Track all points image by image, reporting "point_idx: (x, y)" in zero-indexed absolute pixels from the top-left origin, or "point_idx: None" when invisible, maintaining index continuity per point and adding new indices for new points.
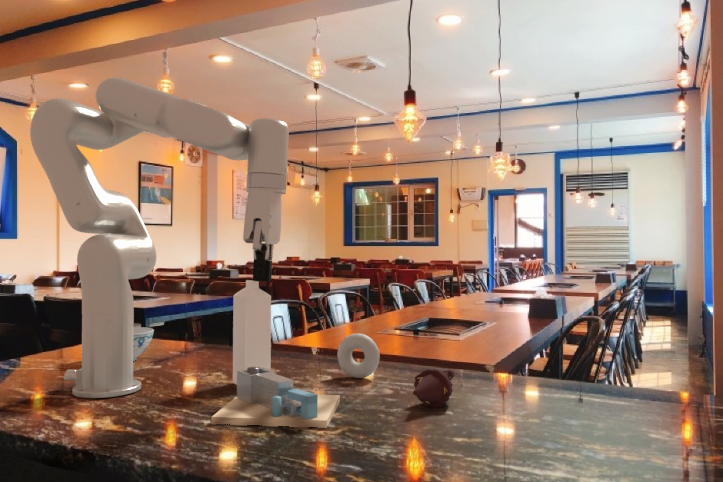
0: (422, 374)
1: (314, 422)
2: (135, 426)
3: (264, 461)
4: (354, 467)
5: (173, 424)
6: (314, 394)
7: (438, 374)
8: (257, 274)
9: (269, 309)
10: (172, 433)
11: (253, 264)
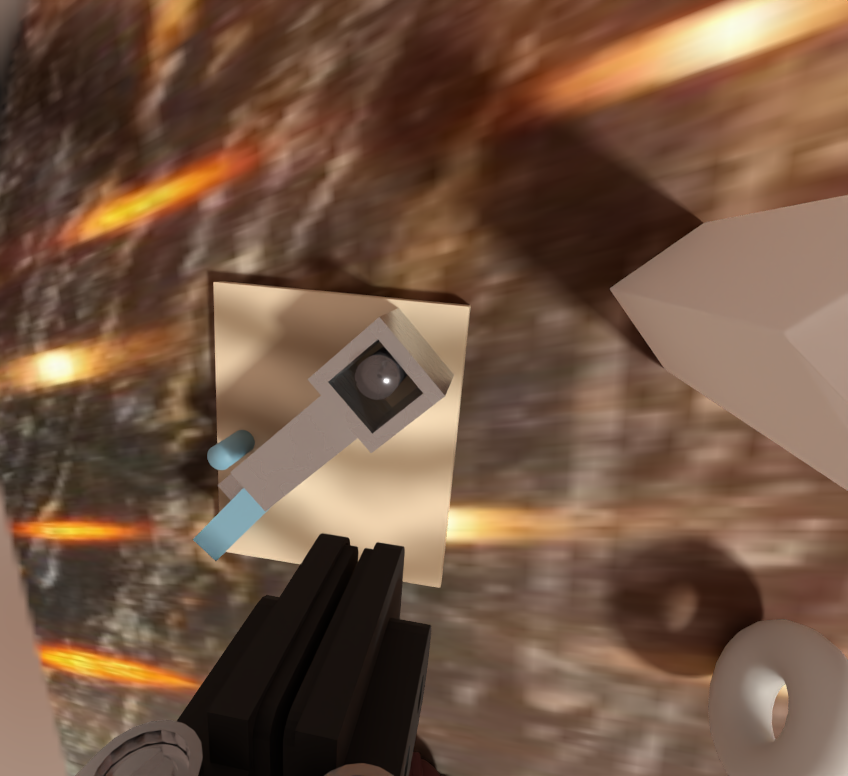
0: None
1: None
2: (185, 75)
3: (40, 437)
4: (48, 578)
5: (213, 178)
6: (217, 554)
7: None
8: (259, 614)
9: (830, 474)
10: (150, 204)
11: (243, 654)
